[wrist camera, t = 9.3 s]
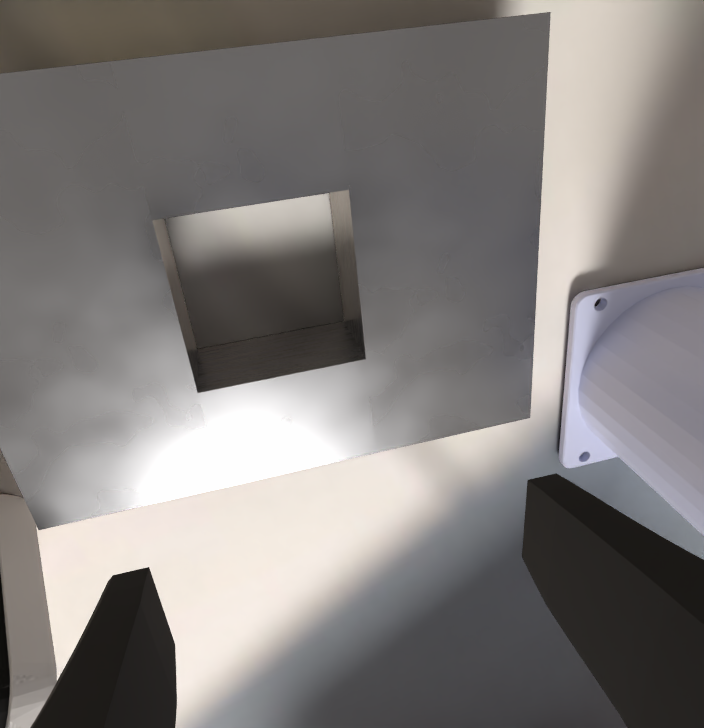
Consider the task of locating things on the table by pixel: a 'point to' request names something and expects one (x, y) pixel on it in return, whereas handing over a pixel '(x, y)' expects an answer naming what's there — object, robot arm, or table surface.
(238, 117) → the metal square hole block
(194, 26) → the table surface
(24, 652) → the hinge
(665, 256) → the table surface
